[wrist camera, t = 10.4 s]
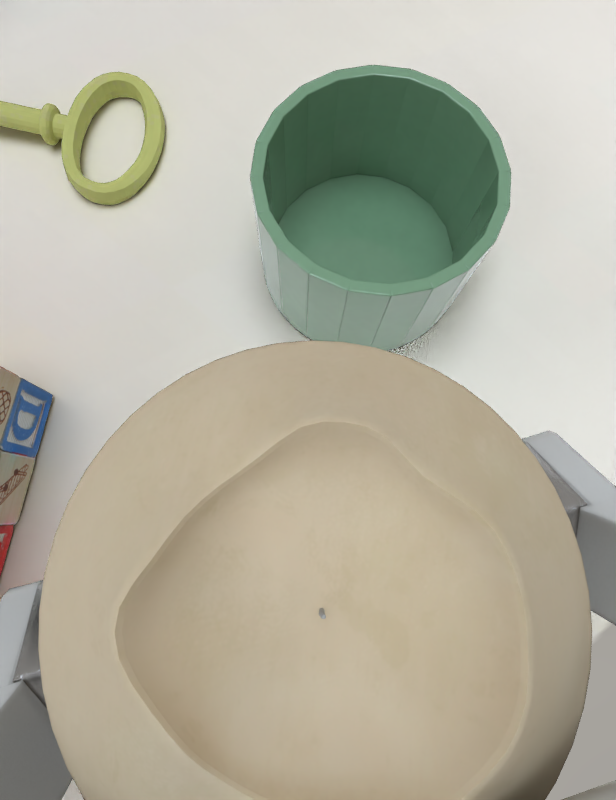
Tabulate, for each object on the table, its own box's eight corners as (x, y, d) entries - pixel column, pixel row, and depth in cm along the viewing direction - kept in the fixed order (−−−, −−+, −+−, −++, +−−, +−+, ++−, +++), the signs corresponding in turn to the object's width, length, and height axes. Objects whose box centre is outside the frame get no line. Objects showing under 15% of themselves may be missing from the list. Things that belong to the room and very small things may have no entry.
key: (-68, 111, 29) (-96, 79, 27) (161, 85, 30) (151, 52, 28) (-66, 230, 27) (-96, 207, 25) (175, 200, 28) (165, 174, 26)
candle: (178, 661, 13) (-168, 1064, 3) (211, 437, 14) (34, 247, 5) (404, 685, 13) (732, 1158, 3) (417, 459, 14) (682, 316, 5)
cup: (282, 370, 26) (277, 316, 19) (247, 190, 28) (231, 85, 21) (480, 333, 27) (543, 269, 20) (431, 160, 29) (473, 48, 22)
